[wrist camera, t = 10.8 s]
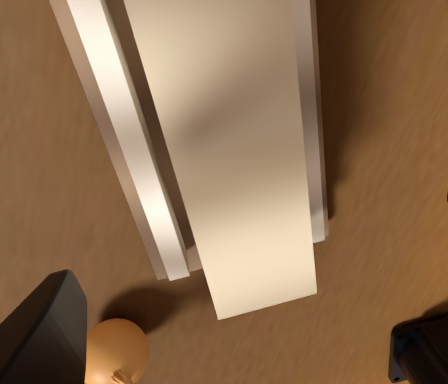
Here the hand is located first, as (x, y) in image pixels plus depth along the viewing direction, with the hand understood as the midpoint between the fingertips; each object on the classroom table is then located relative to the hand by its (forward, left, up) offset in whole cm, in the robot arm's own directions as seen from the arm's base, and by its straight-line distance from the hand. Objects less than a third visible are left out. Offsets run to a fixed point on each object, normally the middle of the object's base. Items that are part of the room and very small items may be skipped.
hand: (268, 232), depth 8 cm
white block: (0, 0, -9) cm, 9 cm away
